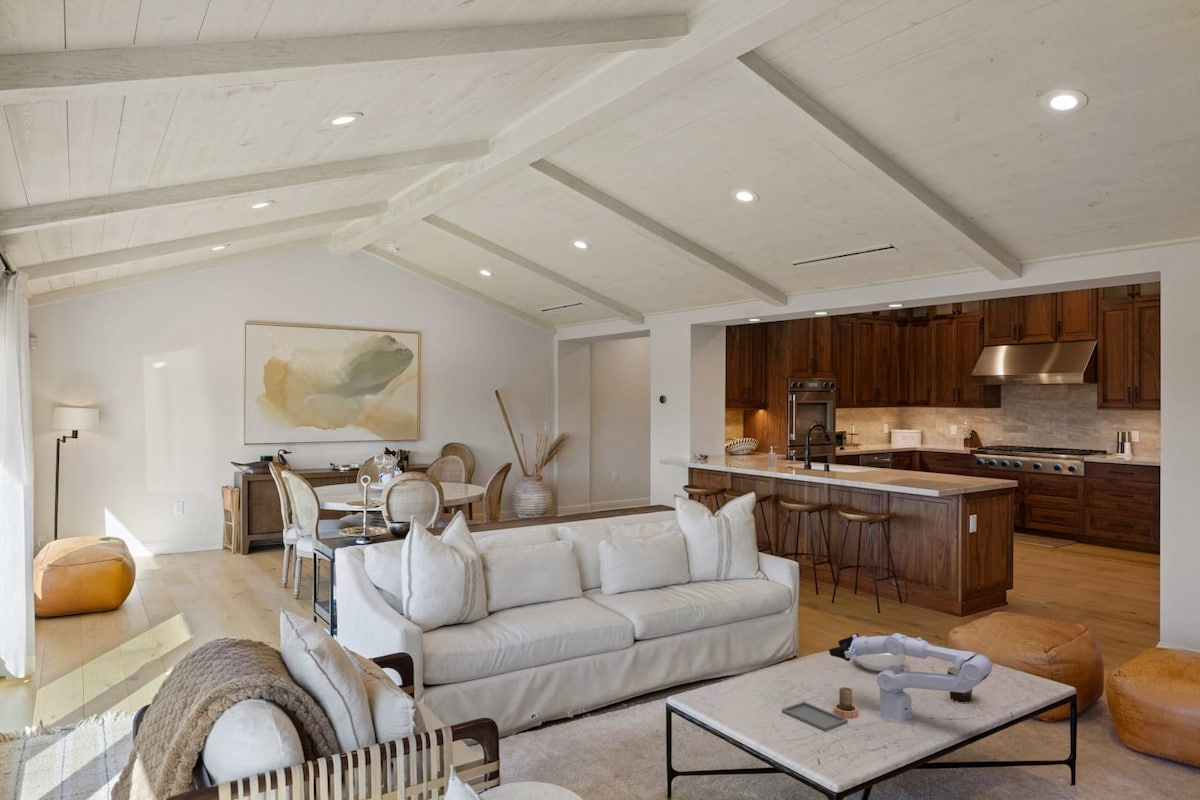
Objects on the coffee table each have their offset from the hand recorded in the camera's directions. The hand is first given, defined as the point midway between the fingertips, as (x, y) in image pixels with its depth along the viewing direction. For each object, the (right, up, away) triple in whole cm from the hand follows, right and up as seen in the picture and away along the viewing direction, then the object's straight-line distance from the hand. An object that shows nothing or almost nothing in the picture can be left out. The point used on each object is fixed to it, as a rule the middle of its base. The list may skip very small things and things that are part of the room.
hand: (834, 648), depth 272 cm
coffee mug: (+42, -18, -1) cm, 46 cm away
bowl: (+26, -18, +31) cm, 44 cm away
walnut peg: (0, -18, -13) cm, 22 cm away
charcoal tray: (-12, -18, -16) cm, 27 cm away
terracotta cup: (0, -18, -13) cm, 22 cm away
